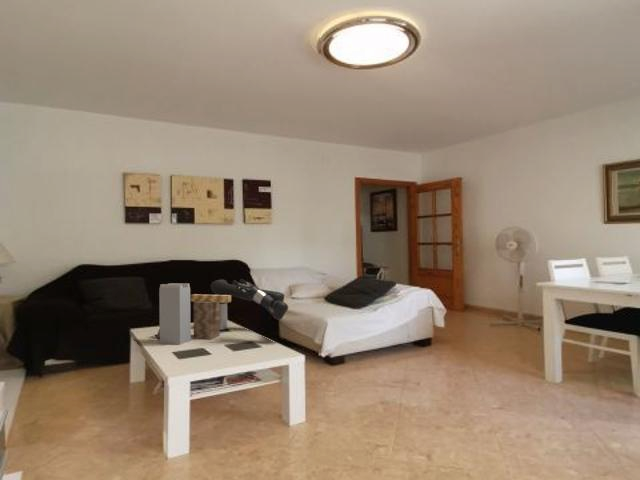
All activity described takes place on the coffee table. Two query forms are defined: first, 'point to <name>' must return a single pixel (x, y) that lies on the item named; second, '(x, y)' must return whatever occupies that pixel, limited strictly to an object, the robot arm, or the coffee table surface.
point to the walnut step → (206, 320)
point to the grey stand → (174, 313)
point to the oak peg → (211, 298)
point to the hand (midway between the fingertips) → (236, 280)
